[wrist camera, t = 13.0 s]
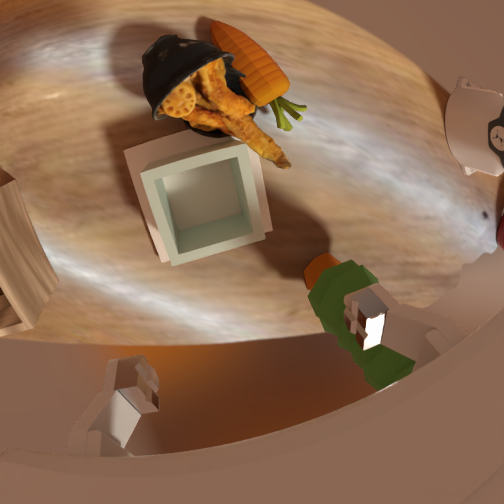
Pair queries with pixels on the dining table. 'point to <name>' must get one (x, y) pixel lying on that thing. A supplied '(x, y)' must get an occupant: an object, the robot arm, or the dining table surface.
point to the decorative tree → (332, 318)
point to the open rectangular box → (199, 194)
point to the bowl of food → (204, 93)
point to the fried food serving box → (21, 266)
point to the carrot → (257, 72)
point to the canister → (501, 234)
